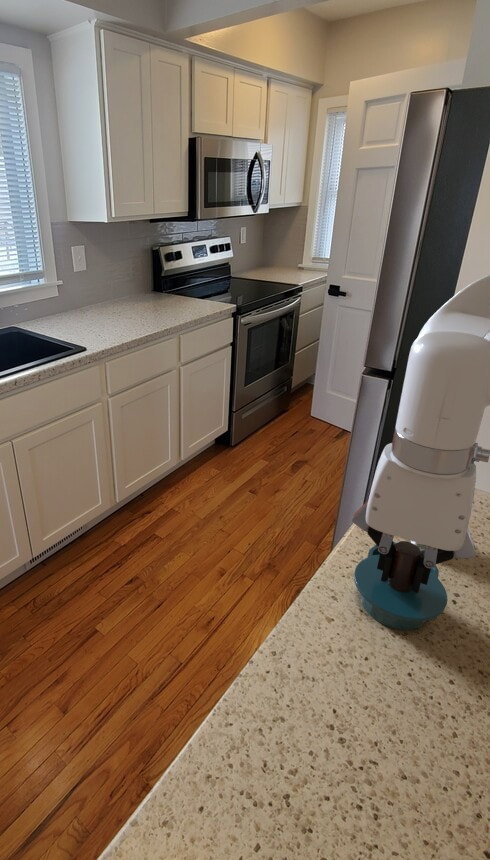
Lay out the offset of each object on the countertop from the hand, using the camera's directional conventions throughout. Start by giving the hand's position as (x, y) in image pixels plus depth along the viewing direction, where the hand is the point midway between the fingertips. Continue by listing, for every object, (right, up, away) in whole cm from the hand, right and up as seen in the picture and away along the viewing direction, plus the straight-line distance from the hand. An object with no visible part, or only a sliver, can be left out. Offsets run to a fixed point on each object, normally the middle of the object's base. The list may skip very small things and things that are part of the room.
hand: (400, 578), depth 59 cm
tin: (+7, -10, +17) cm, 21 cm away
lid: (0, -1, +1) cm, 1 cm away
